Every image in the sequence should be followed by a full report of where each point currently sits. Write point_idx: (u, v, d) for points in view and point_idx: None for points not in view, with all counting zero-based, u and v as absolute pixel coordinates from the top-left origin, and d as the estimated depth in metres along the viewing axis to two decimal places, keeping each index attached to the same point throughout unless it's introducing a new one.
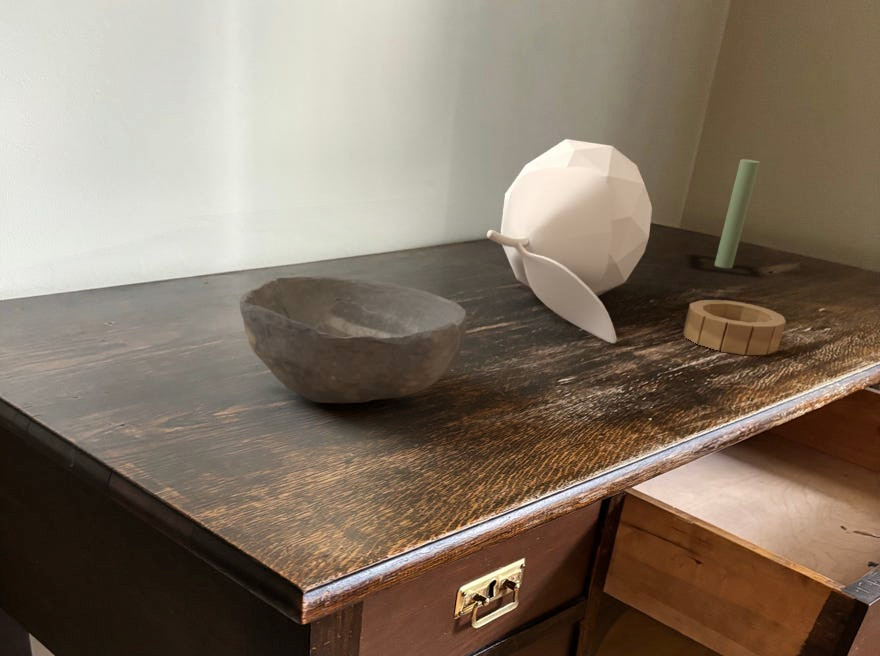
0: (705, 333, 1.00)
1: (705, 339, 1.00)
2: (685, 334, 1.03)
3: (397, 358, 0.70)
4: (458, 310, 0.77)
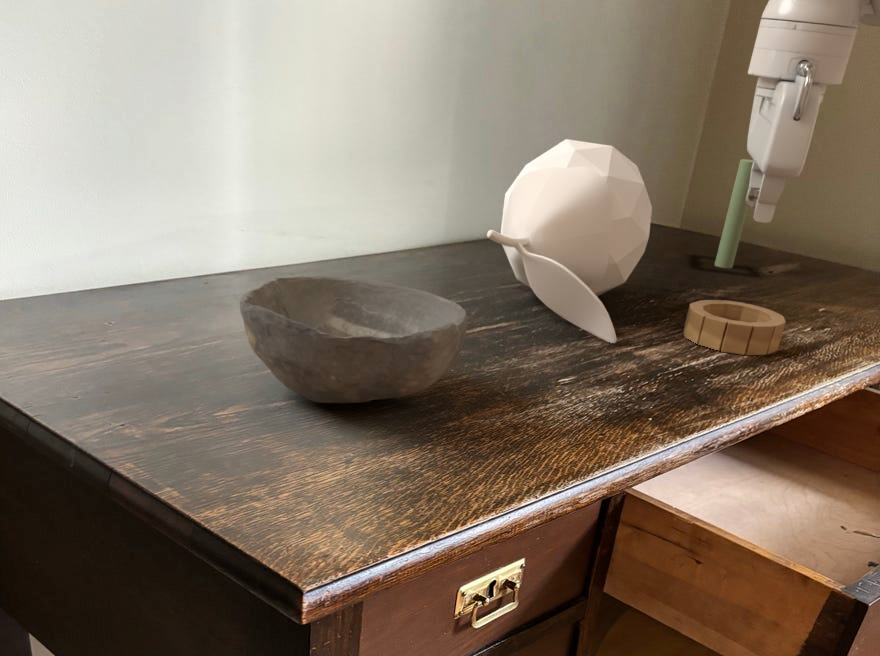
0: (705, 333, 1.00)
1: (705, 339, 1.00)
2: (685, 334, 1.03)
3: (397, 358, 0.70)
4: (458, 310, 0.77)
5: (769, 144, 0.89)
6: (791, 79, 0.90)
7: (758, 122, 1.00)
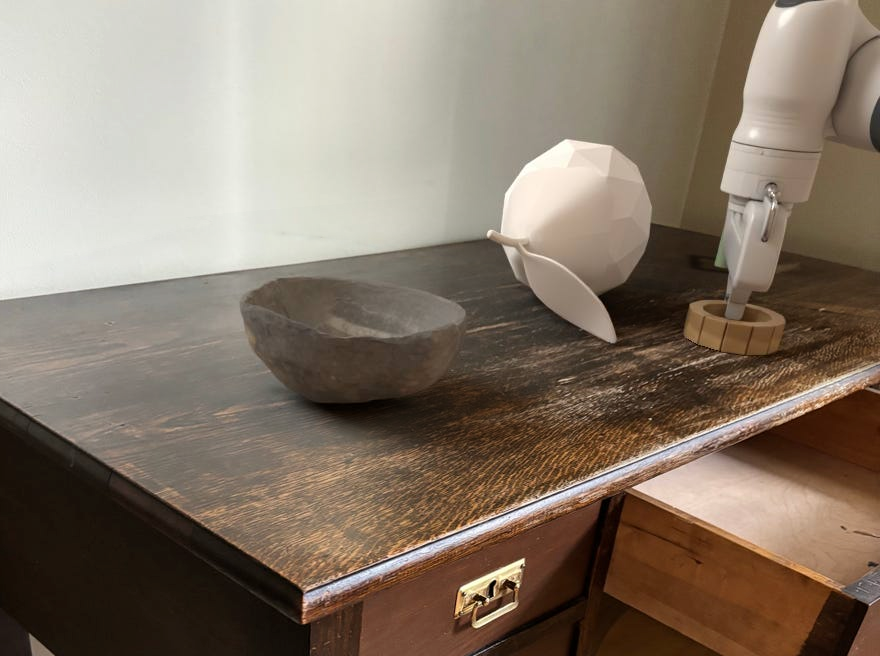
0: (705, 333, 1.00)
1: (705, 339, 1.00)
2: (685, 334, 1.03)
3: (397, 358, 0.70)
4: (458, 310, 0.77)
5: (739, 262, 0.94)
6: (760, 199, 0.96)
7: (732, 229, 1.05)
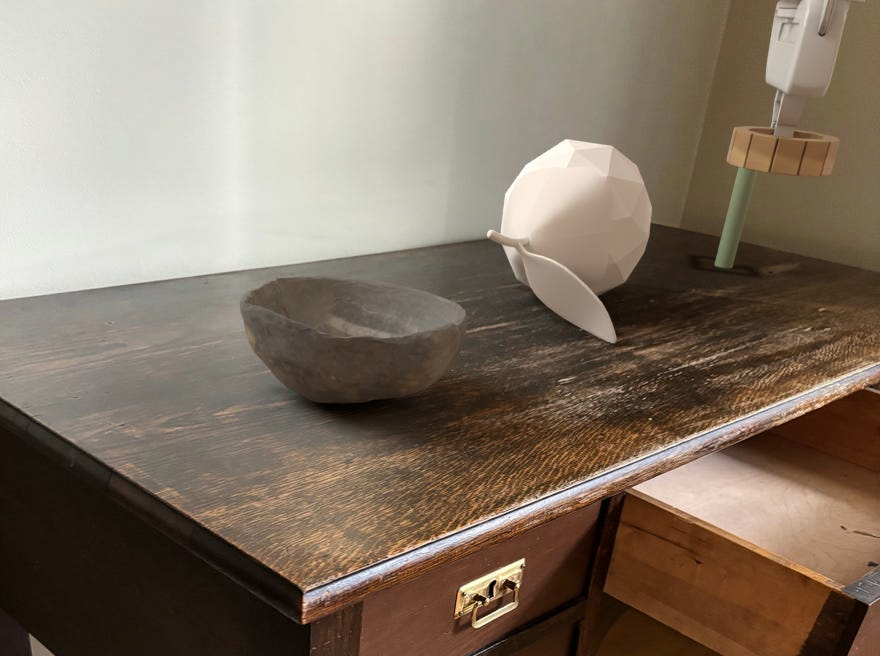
0: (753, 153, 0.91)
1: (753, 160, 0.92)
2: (729, 160, 0.94)
3: (397, 358, 0.70)
4: (458, 310, 0.77)
5: (793, 62, 0.86)
6: None
7: (778, 48, 0.97)
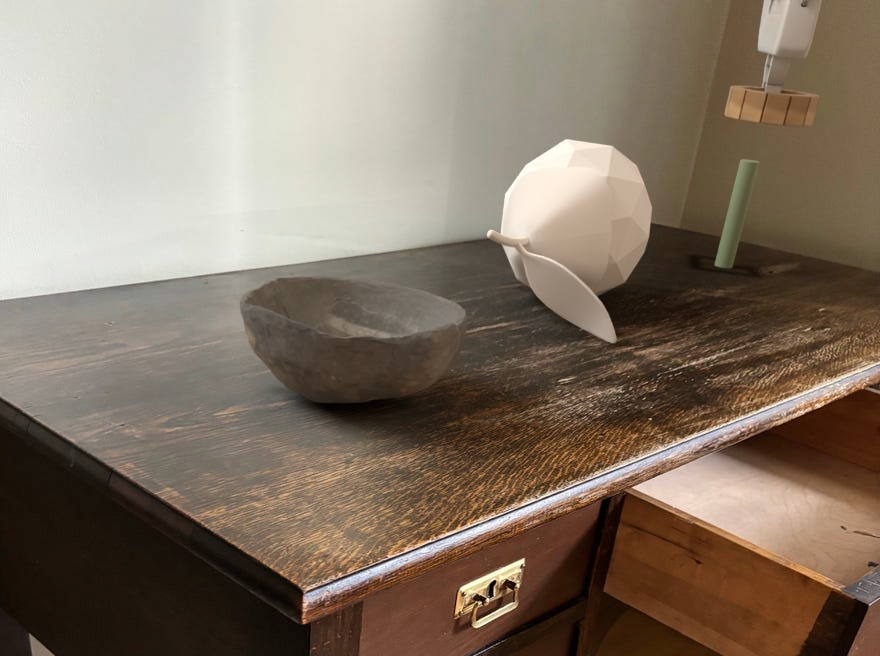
0: (746, 106, 1.09)
1: (746, 112, 1.09)
2: (727, 113, 1.12)
3: (397, 358, 0.70)
4: (458, 310, 0.77)
5: (780, 29, 1.04)
6: None
7: (768, 20, 1.15)
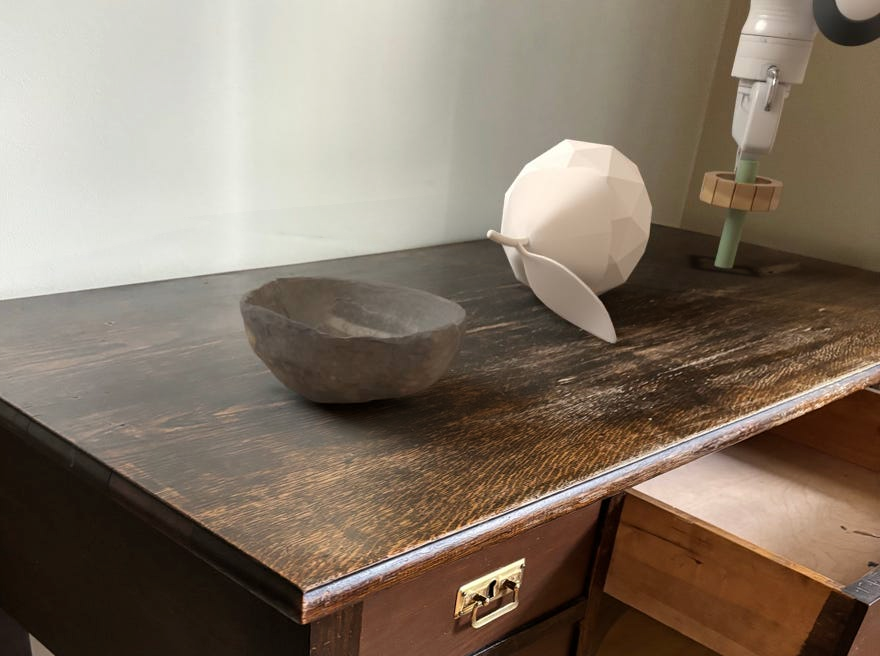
0: (718, 193, 1.23)
1: (718, 199, 1.23)
2: (701, 197, 1.26)
3: (397, 358, 0.70)
4: (458, 310, 0.77)
5: (746, 129, 1.17)
6: (763, 80, 1.19)
7: (740, 113, 1.28)
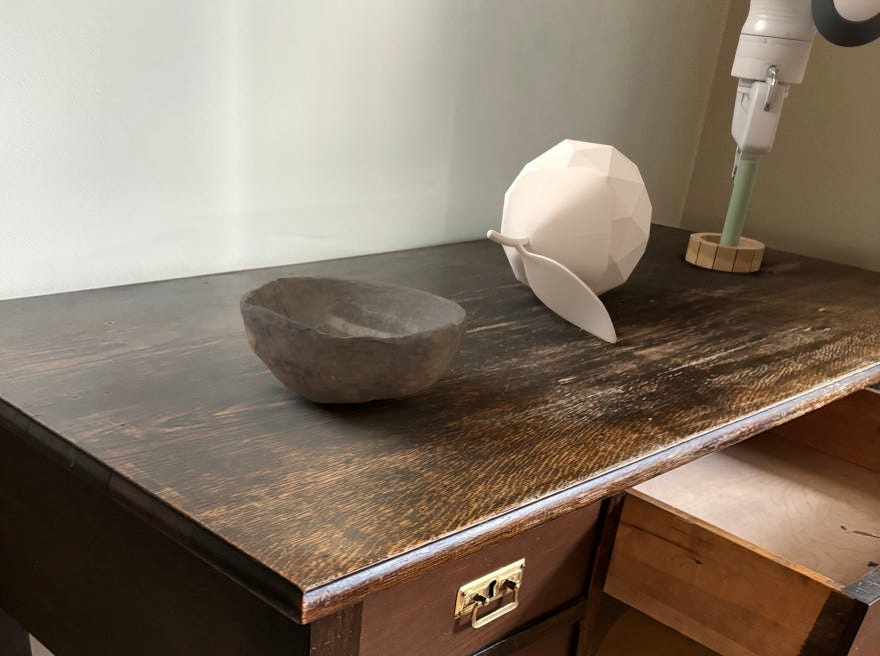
0: (701, 255, 1.29)
1: (701, 260, 1.29)
2: (686, 258, 1.32)
3: (397, 358, 0.70)
4: (458, 310, 0.77)
5: (746, 129, 1.18)
6: (763, 80, 1.19)
7: (739, 112, 1.29)
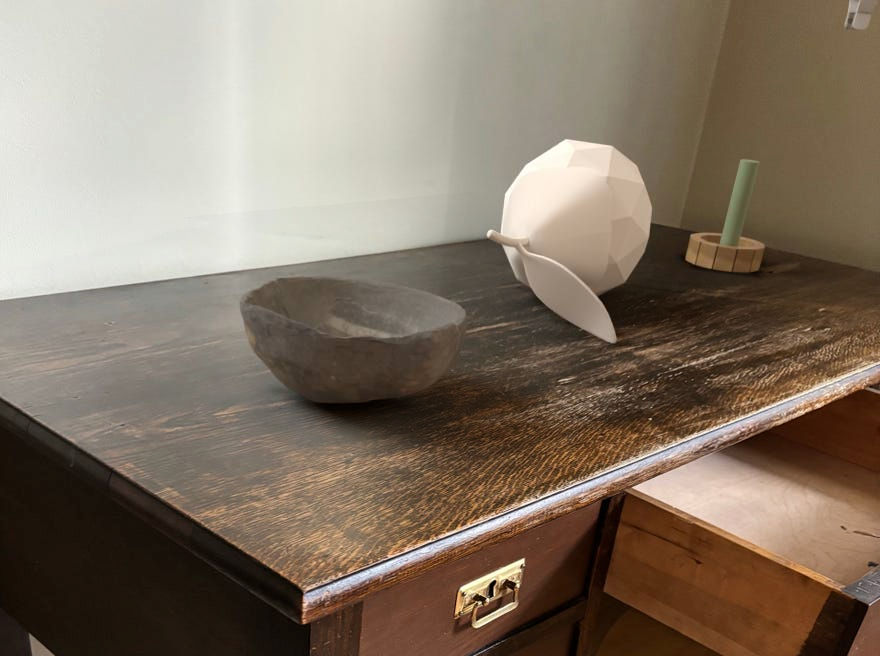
0: (701, 255, 1.29)
1: (701, 260, 1.29)
2: (686, 258, 1.32)
3: (397, 358, 0.70)
4: (458, 310, 0.77)
5: None
6: None
7: None
